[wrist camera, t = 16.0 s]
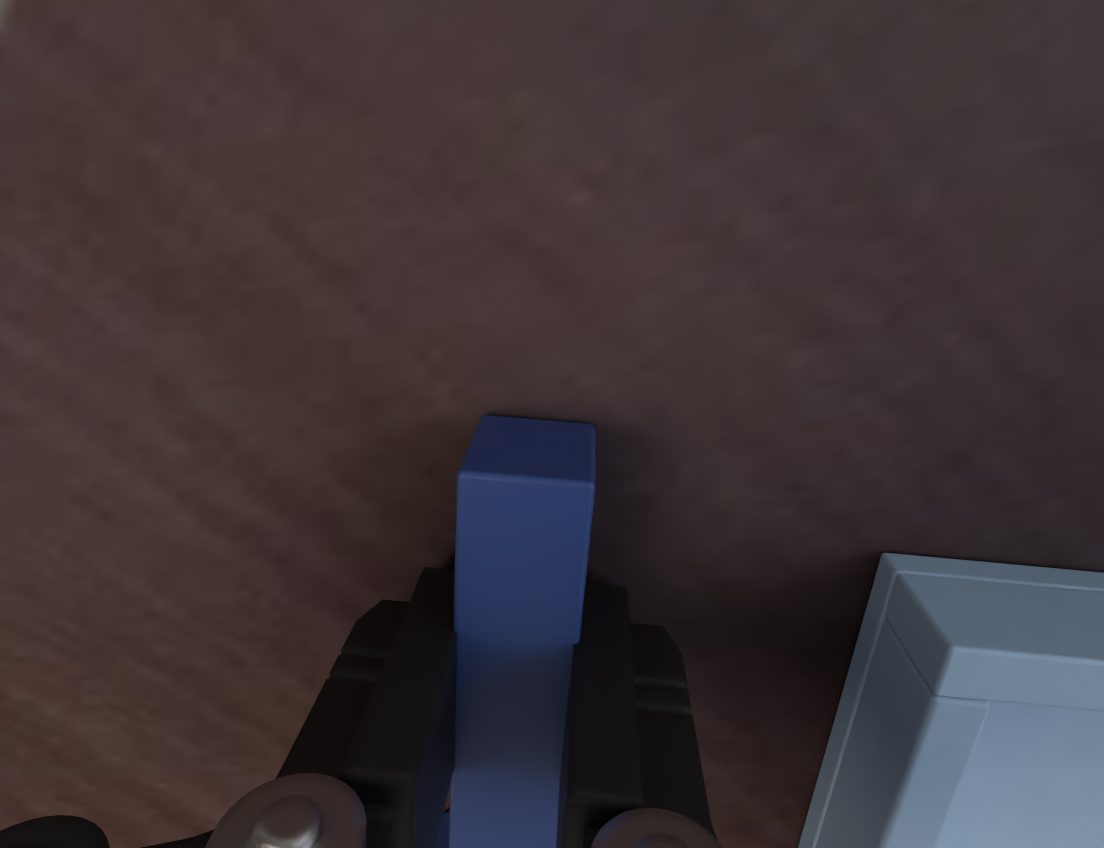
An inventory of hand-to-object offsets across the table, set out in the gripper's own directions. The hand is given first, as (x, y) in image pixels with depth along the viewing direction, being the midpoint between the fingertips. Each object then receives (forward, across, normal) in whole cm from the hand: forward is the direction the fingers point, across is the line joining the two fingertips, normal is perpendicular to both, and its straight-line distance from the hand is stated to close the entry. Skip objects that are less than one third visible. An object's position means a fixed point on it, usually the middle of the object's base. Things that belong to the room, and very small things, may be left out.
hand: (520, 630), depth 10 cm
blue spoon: (0, 0, +2) cm, 2 cm away
